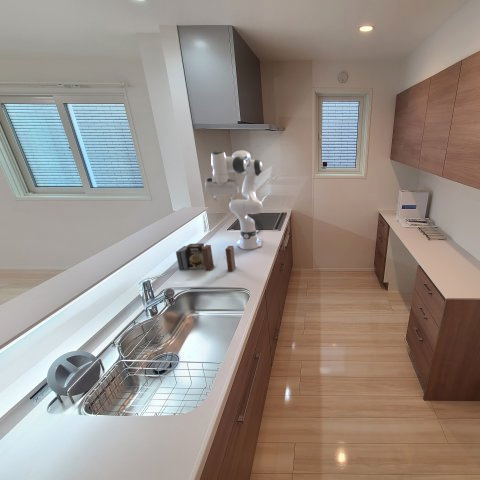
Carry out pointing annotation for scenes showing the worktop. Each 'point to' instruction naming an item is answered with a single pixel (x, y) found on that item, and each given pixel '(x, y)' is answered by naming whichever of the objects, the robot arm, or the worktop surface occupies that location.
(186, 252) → the grey books
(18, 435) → the worktop surface
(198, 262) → the coffee box
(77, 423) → the worktop surface
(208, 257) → the brown wooden bookends
